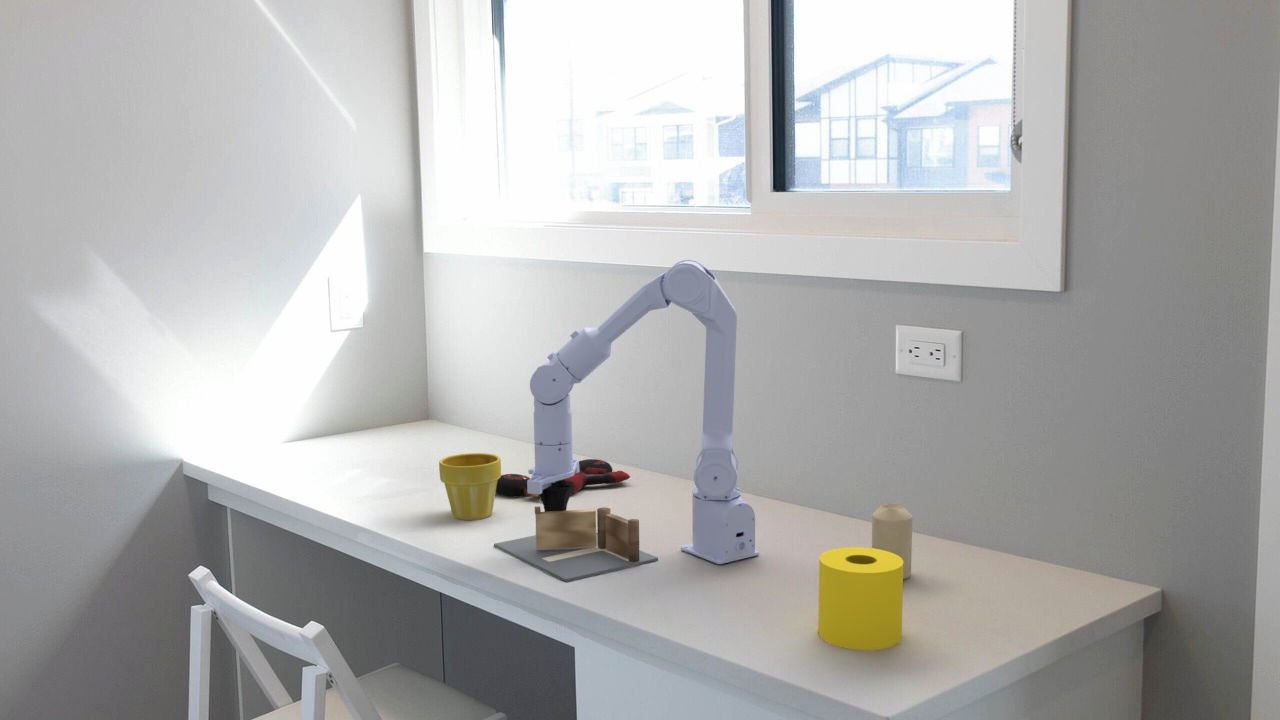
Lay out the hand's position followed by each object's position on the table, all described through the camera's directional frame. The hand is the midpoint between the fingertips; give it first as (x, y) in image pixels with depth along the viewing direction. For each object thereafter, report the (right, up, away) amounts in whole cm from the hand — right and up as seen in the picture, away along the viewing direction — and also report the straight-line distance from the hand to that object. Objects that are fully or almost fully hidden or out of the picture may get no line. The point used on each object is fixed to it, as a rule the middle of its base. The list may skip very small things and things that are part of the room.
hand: (555, 528), depth 174 cm
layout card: (+3, -3, -2) cm, 5 cm away
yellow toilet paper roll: (+40, -8, -35) cm, 53 cm away
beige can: (+48, -5, -13) cm, 50 cm away
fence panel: (+2, -2, -1) cm, 3 cm away
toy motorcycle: (-1, +1, +36) cm, 36 cm away
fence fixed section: (+10, -3, -4) cm, 11 cm away
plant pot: (-16, -1, +20) cm, 25 cm away
